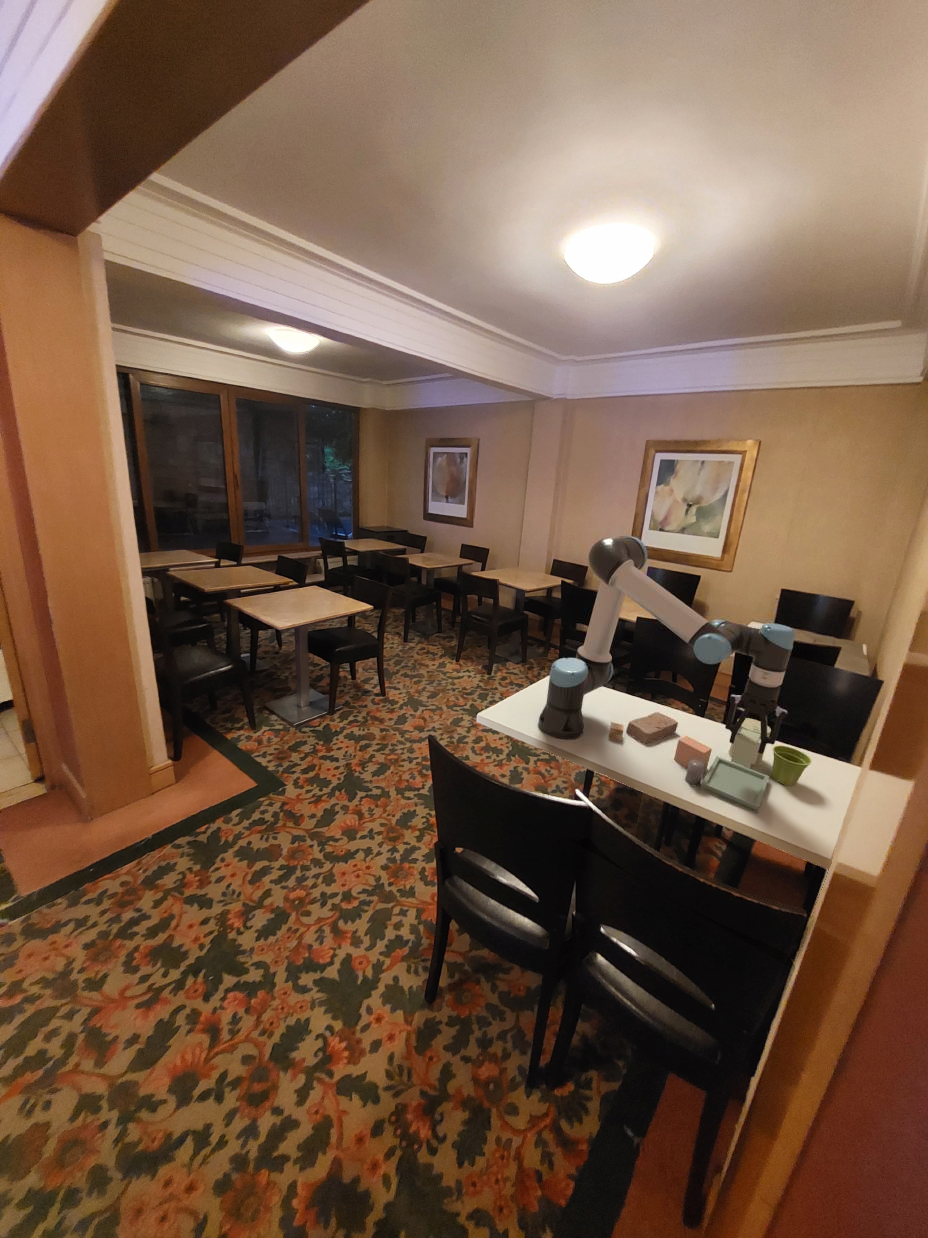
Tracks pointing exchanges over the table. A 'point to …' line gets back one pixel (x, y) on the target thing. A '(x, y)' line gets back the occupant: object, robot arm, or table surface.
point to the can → (755, 727)
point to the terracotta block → (692, 751)
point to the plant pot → (788, 764)
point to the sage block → (745, 748)
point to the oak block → (616, 731)
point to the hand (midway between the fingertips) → (743, 757)
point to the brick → (651, 727)
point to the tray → (735, 783)
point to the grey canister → (694, 772)
